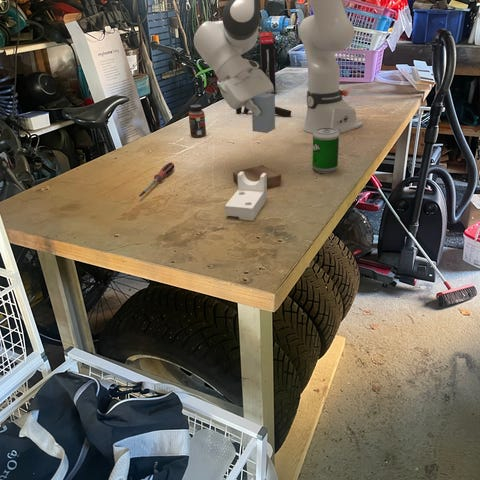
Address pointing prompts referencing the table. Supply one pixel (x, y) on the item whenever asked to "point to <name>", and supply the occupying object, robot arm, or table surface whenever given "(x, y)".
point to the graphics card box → (268, 57)
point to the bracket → (247, 198)
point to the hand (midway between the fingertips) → (265, 111)
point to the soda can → (325, 150)
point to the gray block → (264, 113)
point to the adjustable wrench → (277, 111)
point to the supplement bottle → (197, 121)
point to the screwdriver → (160, 176)
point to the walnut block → (255, 174)
